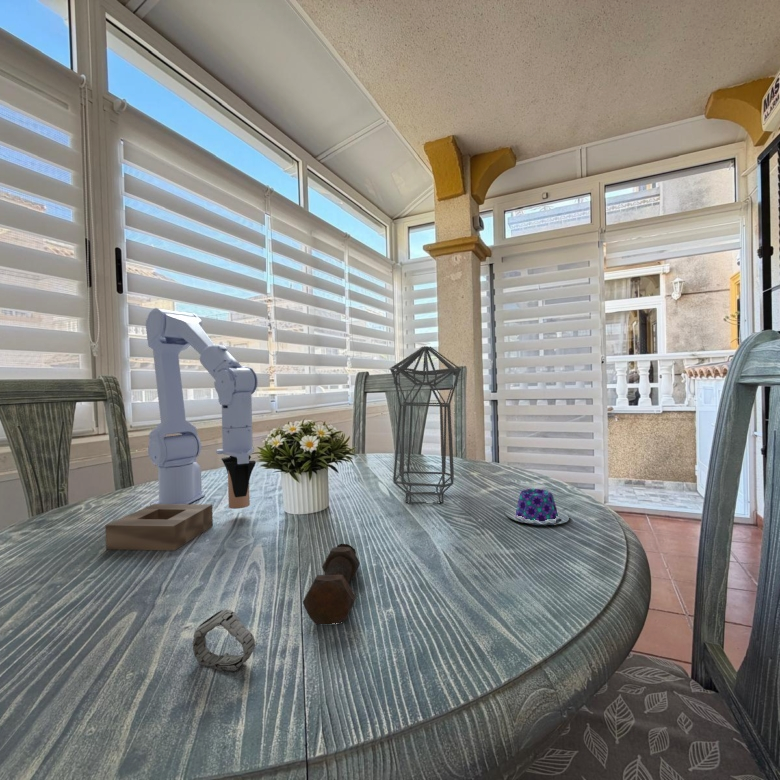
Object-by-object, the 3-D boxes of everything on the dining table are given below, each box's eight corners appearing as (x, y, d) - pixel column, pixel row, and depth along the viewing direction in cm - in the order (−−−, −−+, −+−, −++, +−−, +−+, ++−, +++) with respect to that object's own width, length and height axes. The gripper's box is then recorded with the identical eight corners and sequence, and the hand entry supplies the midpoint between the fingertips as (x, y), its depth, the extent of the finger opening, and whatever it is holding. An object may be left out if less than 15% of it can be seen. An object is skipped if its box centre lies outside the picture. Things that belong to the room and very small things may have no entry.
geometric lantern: (395, 489, 104) (396, 349, 104) (459, 491, 102) (459, 349, 102) (386, 507, 88) (386, 342, 88) (461, 510, 86) (461, 342, 86)
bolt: (351, 578, 61) (335, 638, 46) (320, 561, 61) (295, 615, 46) (369, 543, 61) (360, 591, 46) (339, 526, 61) (320, 569, 46)
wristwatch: (209, 649, 42) (207, 600, 42) (262, 659, 40) (260, 608, 40) (182, 672, 39) (181, 619, 39) (239, 684, 37) (237, 629, 37)
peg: (234, 502, 86) (233, 464, 86) (252, 502, 86) (252, 464, 86) (225, 508, 82) (224, 468, 82) (244, 508, 82) (243, 468, 82)
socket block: (154, 524, 81) (153, 504, 81) (212, 525, 80) (212, 504, 79) (106, 549, 69) (105, 525, 69) (174, 550, 68) (173, 526, 68)
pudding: (575, 532, 73) (575, 502, 73) (505, 527, 76) (504, 499, 76) (564, 511, 85) (564, 485, 85) (503, 508, 88) (503, 483, 87)
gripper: (212, 425, 89) (214, 488, 89) (219, 431, 76) (221, 505, 76) (247, 423, 92) (248, 484, 92) (259, 429, 79) (261, 500, 79)
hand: (238, 493), depth 84 cm, fingers closed on peg, 4 cm apart
